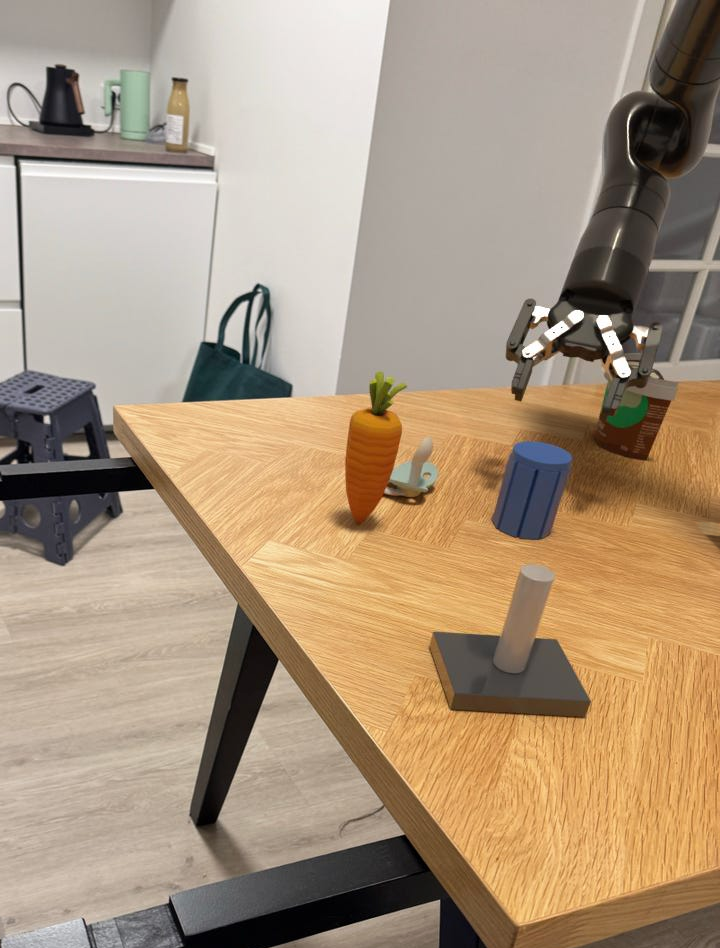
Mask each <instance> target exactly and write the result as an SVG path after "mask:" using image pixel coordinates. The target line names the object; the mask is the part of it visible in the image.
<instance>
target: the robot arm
mask: <svg viewBox="0 0 720 948" xmlns="http://www.w3.org/2000/svg"><path fill="white" fill-rule="evenodd" d="M647 78H648V83H649V86H650V88H651V90H652V91H653V92H650V91H645V90H636V91H632V92H629V93H627V94H625V95H624V96H623V97H622V98H620V99H619V100H618V101H617V102H616V103H615V105H614V106H613V107H612V109H611V110H610V112H609V114H608V116H607V118H606V122H605V124H604V128H603V134H602V140H601V141H602V142H601V178H600V179H601V180H600V187H599V191H598V194H597V198H596V201H595V203H594V206H593V209H592V212H591V215H590V218H589V221H588V223H587V225H586V227H585V228H584V231H583V233H582V235H581V237H580V239H579V241H578V244H577V247H576V250H575V253H574V255H573V258H572V261H571V263H570V266H569V269H568V272H567V275H566V278H565V280H564V283H563V286H562V289H561V292H560V294H559V297H558V300H557V302H556V303H555V304H554V305H553V306H552V307H551V308H548V307H544V306H540V305H537V300H535V299H534V298H527V299H525V300H524V302H523V304H522V306H521V309H520V311H519V314H518V315H517V318H516V320H515V322H514V325H513V326H512V329H511V331H510V333H509V336H508V338H507V341H506V345H505V359H506V360H507V361H509V362H515V363H516V365H517V366H516V369H515V372H514V375H513V377H512V380H511V385H510V387H511V388H510V391H511V393H510V394H511V395H514V401H517V402H522V401H523V400H524V399H523V398H524V396H525V393H526V390H527V387H528V385H529V381H530V379H531V376H532V373H533V368H534V367H535V366H537V365H538V364H540V363H541V362H543V361H548V360H549V359H551V358H552V357H554V356H555V355H557V354H558V353H561V354H562V357H566V358H570V359H571V358H579V359H581V360H583V361H585V362H590V363H594V362H595V361H597V360H600V363H601V365H602V367H603V369H604V373H605V372H606V373H608V374H609V376H610V378H611V380H612V382H611V385H610V388H609V391H608V394H607V397H606V400H605V403H604V406H603V409H602V412H601V415H600V414H599V415H600V419H601V420H605V421H606V420H607V417H608V415H609V416H614V415H615V414H616V413H617V411H618V408H619V405H620V402H621V399H622V396H623V393H624V391H625V389H626V388H628V387H632V386H636V387H637V388H644V387H645V386H646V385H647V382H648V379H649V376H650V374H651V372H652V369H654V368H653V367H654V364H655V360H656V356H657V352H658V349H659V344H660V341H661V338H662V332H663V329H664V326H663V324H662V323H661V322H658V321H656V322H655V321H654V322H652V323H650V325H649V326H645V325H640V324H635V322H634V319H633V317H634V313H635V310H636V308H637V304H638V302H639V299H640V296H641V293H642V291H643V287H644V284H645V282H646V279H647V277H648V275H649V272H650V267H651V265H652V261H653V258H654V254H655V250H656V249H655V248H656V245H657V244H656V243H657V238H658V236H659V232H660V230H661V226H662V223H663V221H664V218H665V215H666V213H667V209H668V206H669V203H670V199H671V188H670V184H669V182H668V180H667V179H670V180H674V179H679V178H681V177H684V176H686V175H687V174H688V173H690V172H692V170H693V169H695V168H696V167H697V166H698V165H699V163H700V161H701V160H702V159H703V157H704V154H705V153H706V150H707V147H708V144H709V139H710V135H711V131H712V125H713V119H714V112H715V107H716V101H717V98H718V95H719V91H720V0H676V2H675V4H674V6H673V8H672V11H671V13H670V16H669V18H668V20H667V23H666V25H665V28H664V30H663V32H662V34H661V37H660V39H659V42H658V43H657V46H656V49H655V51H654V53H653V56H652V58H651V61H650V63H649V67H648V73H647ZM543 322H546V325H547V328H548V330H546V331H544V332H543V333H541V334H540V336H539V337H538V339H536V340H534V341H533V342H531V343H530V344H529V345H527V346H524V343H525V340H526V338H527V336H528V333H529V331H530V329H531V330H534V329H536V328H537V327H538V326H539V325H540V324H541V323H543ZM630 339H633V340H634V341H635V347H636V349H638V351H641V353H642V354H641V358H640V362H639V366H638V368H632V369H630V368H629V366H628V364H627V361H626V359H625V357H624V354H625V353H624V349H623V346H622V345H624V344H625V343H627V342H628V341H630Z"/></svg>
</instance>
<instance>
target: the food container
mask: <svg viewBox="0 0 720 948" xmlns="http://www.w3.org/2000/svg"><path fill="white" fill-rule="evenodd" d="M641 354H642V352H641V353H640V352H627V353H624V357H625V359H626V361H627V364H628V366H629V368H630V369H632V368H638V366H639V362H640V358H641ZM603 377H604V379H605V380H607V382H606V387H605V391H604V396H603V399H602V403H601V408H600V412H599V416H598V420H597V424H596V428H595V431H594V432H595V433H594V435H593V439H594V442H595V443H596V444H597V445H598V446H600V447H601V448H603V449H605V450H607V451H609V452H611V453H614V454H617V455H619V456H624V457H627V458H632V459H637V460H644V461H647V460H648V459H649V455H650V453H651V450H652V448H653V446H654V444H655V441H656V439H657V436H658V434H659V431H660V429H661V426H662V424H663V423H664V420H665V417H666V415H667V412H668V410H669V407H670V405H671V403H672V401H673V402H674V401H675V400H676V395H677V392H678V389H679V388H678V386H679V381H674V380H668V379H665V378H664V375H662V373H661V372H660V371H659V370H658V369H656V368H652V372H651V374H650V376H649V379H648V382H647V385H646V386H645V387H644V388H637V387H636V386H632V387H628V388H626V389H625V391H624V393H623V396H622V399H621V402H620V405H619V408H618V411H617V413H616V414H615V415H614V416H609V415H608V417H607V420H606V421H605V420H601V419H600V415H601V412H602V409H603V406H604V403H605V400H606V397H607V394H608V391H609V388H610V385H611V382H612V380H611V378H610V376H609V374H608V373H606V372H605V371H604V373H603Z"/></svg>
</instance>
